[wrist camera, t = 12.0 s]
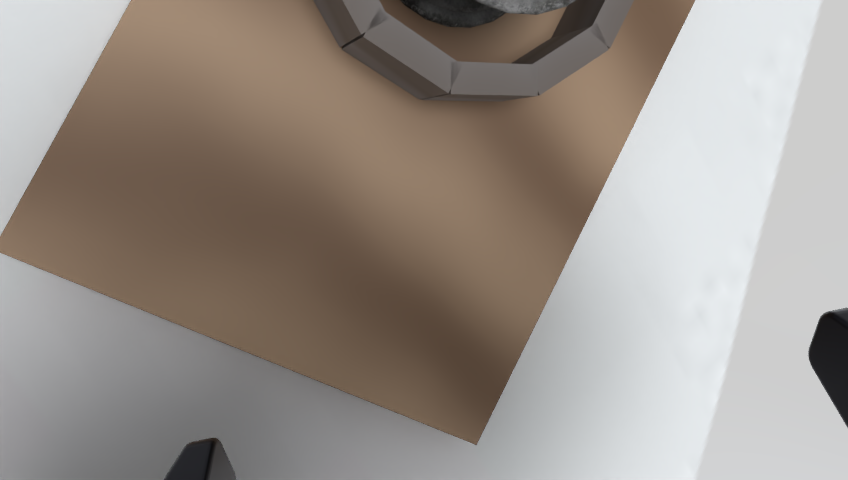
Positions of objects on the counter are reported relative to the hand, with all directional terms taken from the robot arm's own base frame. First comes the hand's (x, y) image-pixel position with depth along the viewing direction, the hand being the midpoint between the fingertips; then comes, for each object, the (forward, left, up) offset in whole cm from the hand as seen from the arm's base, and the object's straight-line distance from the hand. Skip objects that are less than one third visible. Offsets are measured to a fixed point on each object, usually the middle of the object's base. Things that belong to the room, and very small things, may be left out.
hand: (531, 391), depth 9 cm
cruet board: (+6, +1, -10) cm, 12 cm away
